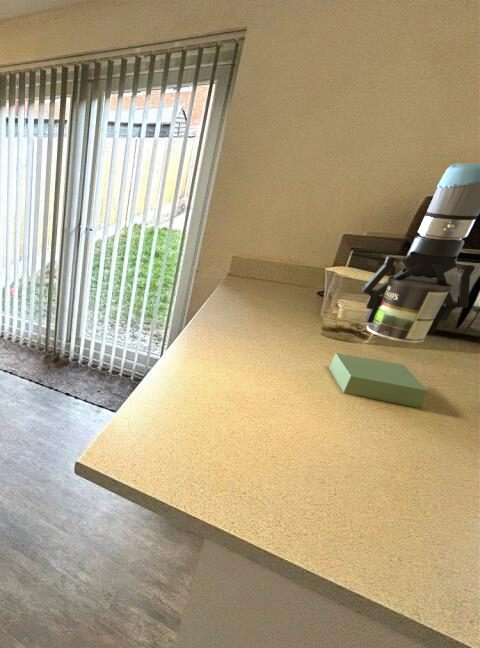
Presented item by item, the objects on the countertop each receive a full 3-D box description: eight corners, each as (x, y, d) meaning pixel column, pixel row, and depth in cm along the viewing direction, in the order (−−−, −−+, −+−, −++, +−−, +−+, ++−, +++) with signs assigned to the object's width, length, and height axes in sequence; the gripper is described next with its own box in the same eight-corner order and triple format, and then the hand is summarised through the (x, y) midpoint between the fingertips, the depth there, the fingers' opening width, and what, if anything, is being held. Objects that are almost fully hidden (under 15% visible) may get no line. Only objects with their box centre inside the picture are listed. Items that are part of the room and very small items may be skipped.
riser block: (395, 380, 106) (403, 364, 104) (418, 407, 95) (427, 390, 93) (329, 368, 112) (335, 352, 110) (343, 392, 101) (350, 376, 99)
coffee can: (375, 338, 96) (400, 284, 90) (359, 323, 104) (381, 272, 99) (433, 346, 92) (463, 290, 86) (412, 330, 100) (437, 277, 94)
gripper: (373, 233, 92) (338, 319, 101) (527, 246, 79) (471, 344, 88) (370, 228, 97) (337, 311, 106) (513, 240, 84) (462, 333, 93)
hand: (397, 326), depth 97 cm, fingers closed on coffee can, 10 cm apart
